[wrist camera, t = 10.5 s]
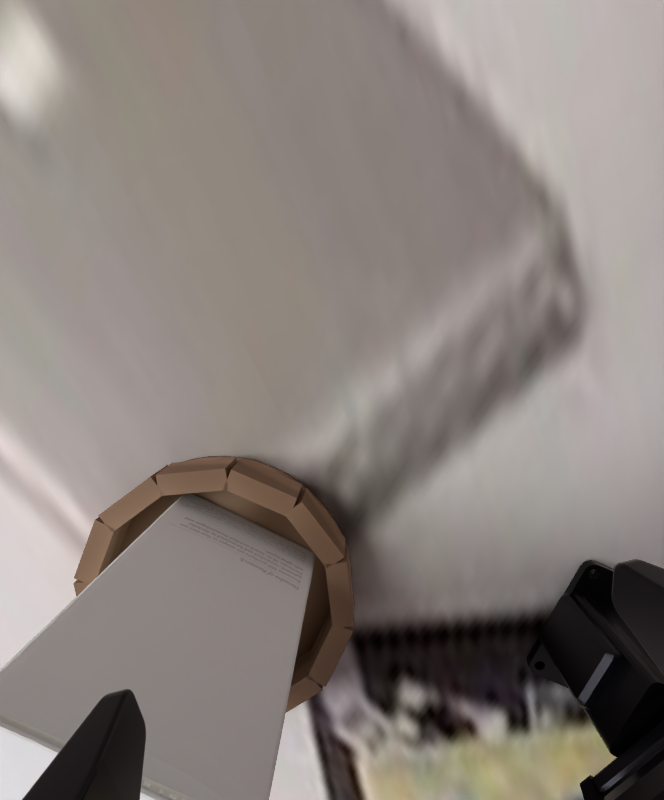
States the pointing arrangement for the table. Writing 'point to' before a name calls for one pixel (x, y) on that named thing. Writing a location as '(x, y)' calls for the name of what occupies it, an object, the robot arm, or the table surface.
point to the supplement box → (170, 657)
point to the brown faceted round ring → (265, 506)
